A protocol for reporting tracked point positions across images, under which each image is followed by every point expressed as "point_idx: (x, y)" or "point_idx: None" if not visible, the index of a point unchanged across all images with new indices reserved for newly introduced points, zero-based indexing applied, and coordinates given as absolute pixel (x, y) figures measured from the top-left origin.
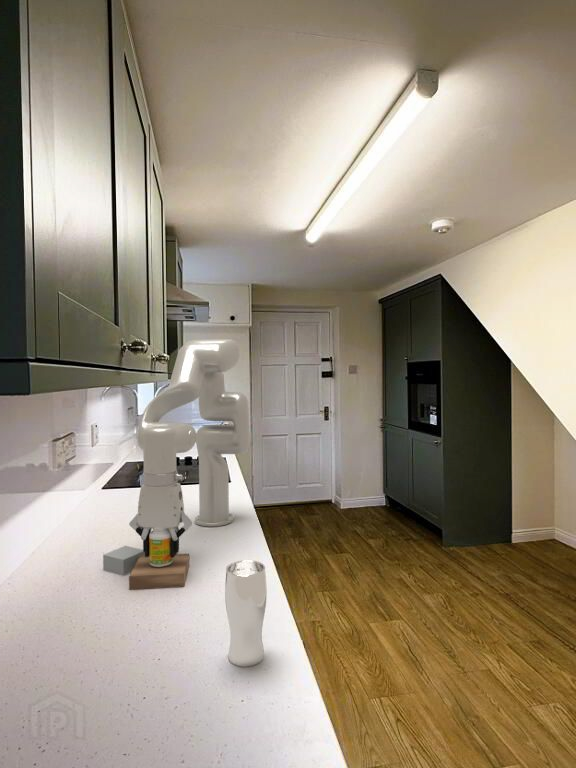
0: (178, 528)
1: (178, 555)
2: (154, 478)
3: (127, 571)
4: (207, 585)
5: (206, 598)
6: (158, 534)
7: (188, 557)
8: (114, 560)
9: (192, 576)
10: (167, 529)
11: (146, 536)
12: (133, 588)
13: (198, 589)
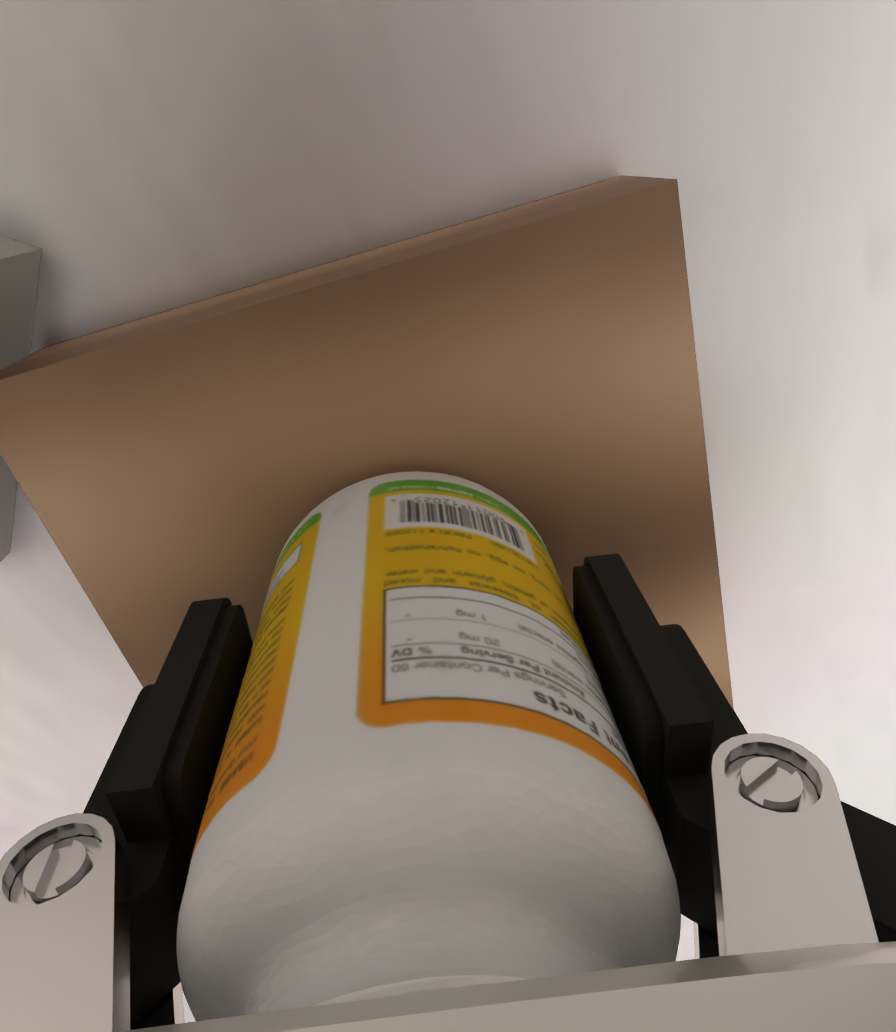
0: (864, 930)
1: (528, 285)
2: None
3: (3, 519)
4: (878, 598)
5: (881, 762)
6: None
7: (688, 317)
8: None
9: (718, 459)
10: None
11: (182, 1020)
12: None
13: (810, 667)
